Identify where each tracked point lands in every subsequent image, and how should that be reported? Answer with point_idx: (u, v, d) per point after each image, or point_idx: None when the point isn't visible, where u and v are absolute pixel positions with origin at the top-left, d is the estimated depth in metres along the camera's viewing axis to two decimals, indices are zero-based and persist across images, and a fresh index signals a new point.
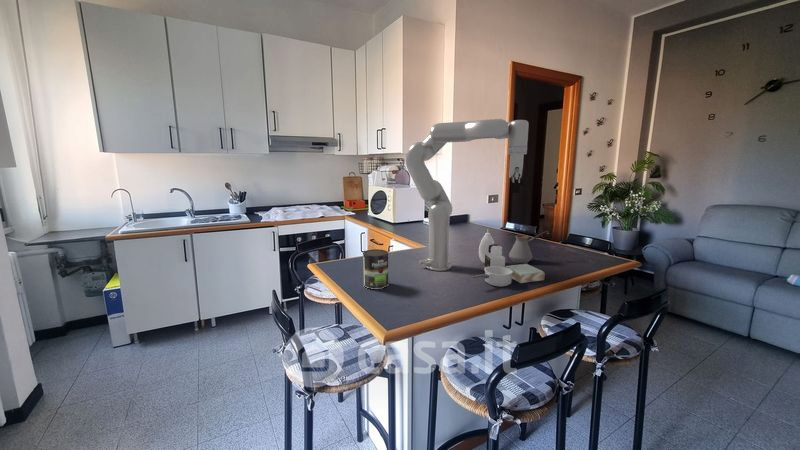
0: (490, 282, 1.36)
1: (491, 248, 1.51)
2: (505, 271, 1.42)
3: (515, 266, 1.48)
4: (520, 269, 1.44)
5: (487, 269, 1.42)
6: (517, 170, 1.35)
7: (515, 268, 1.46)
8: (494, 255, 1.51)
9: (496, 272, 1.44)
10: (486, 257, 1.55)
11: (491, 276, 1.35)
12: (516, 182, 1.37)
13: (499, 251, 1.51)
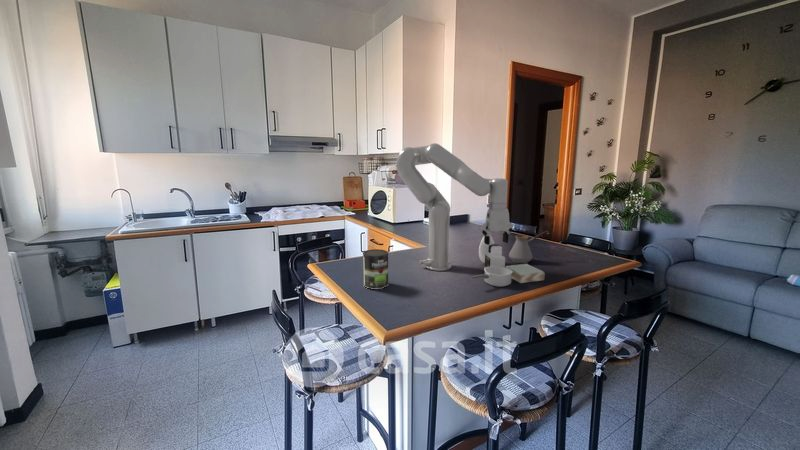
0: (490, 282, 1.36)
1: (491, 248, 1.51)
2: (505, 271, 1.42)
3: (515, 266, 1.48)
4: (520, 269, 1.44)
5: (487, 269, 1.42)
6: (510, 222, 1.53)
7: (515, 268, 1.46)
8: (494, 255, 1.51)
9: (496, 272, 1.44)
10: (486, 257, 1.55)
11: (490, 277, 1.35)
12: None
13: (499, 251, 1.51)
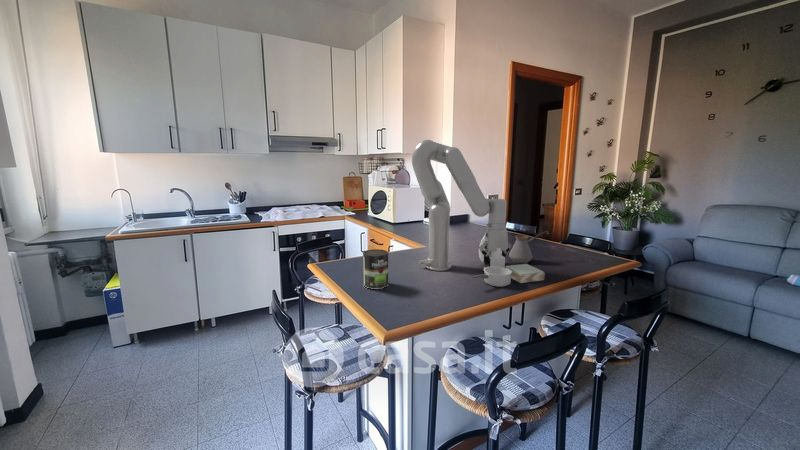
0: (489, 282, 1.36)
1: None
2: (505, 271, 1.42)
3: (515, 266, 1.48)
4: (520, 269, 1.44)
5: (486, 269, 1.42)
6: None
7: (515, 268, 1.46)
8: (494, 255, 1.51)
9: (495, 272, 1.44)
10: None
11: (490, 277, 1.35)
12: None
13: (499, 251, 1.51)
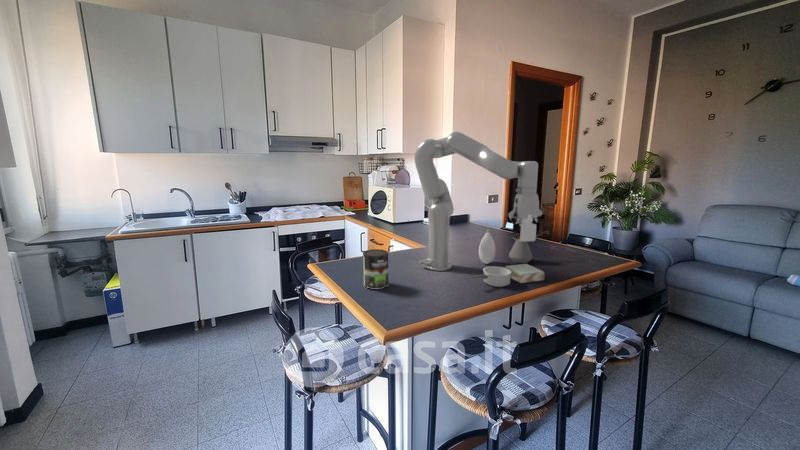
0: (489, 282, 1.35)
1: None
2: (504, 271, 1.41)
3: (515, 266, 1.48)
4: (520, 269, 1.44)
5: (486, 269, 1.42)
6: None
7: (515, 268, 1.46)
8: (524, 222, 1.40)
9: (495, 272, 1.44)
10: None
11: (489, 277, 1.35)
12: None
13: (530, 218, 1.39)
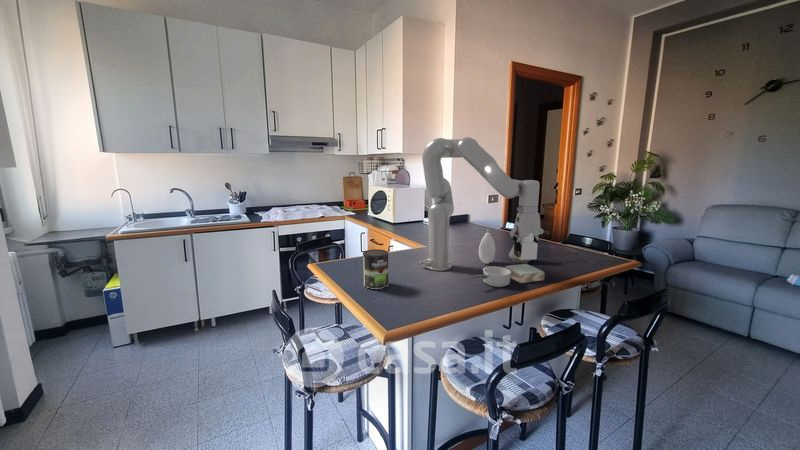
0: (488, 282, 1.35)
1: None
2: (504, 271, 1.41)
3: (515, 266, 1.48)
4: (520, 269, 1.44)
5: (485, 269, 1.42)
6: None
7: (515, 268, 1.46)
8: (526, 241, 1.40)
9: (495, 272, 1.44)
10: None
11: (489, 277, 1.35)
12: None
13: (531, 236, 1.40)
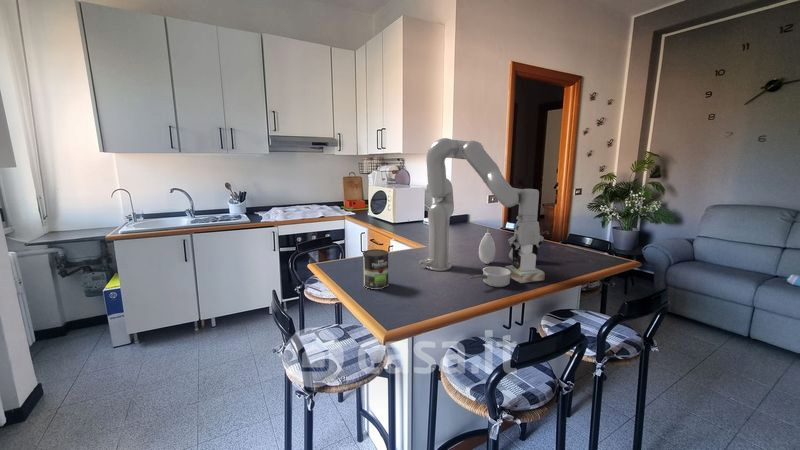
0: (488, 283, 1.35)
1: None
2: (504, 271, 1.41)
3: None
4: None
5: (485, 269, 1.42)
6: (539, 235, 1.45)
7: (515, 268, 1.46)
8: (524, 252, 1.41)
9: (494, 272, 1.43)
10: None
11: (489, 277, 1.35)
12: None
13: (530, 248, 1.41)
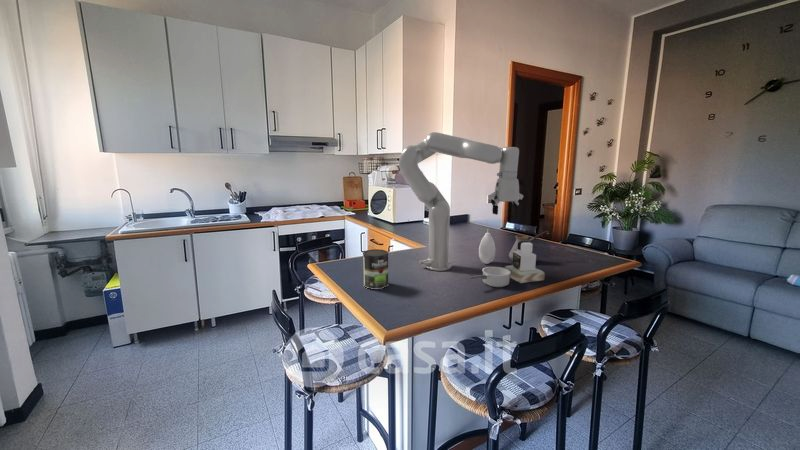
0: (488, 283, 1.35)
1: (521, 245, 1.42)
2: (503, 271, 1.41)
3: None
4: None
5: (485, 270, 1.42)
6: None
7: (515, 268, 1.46)
8: (524, 252, 1.41)
9: (494, 273, 1.43)
10: (515, 255, 1.45)
11: (488, 277, 1.35)
12: None
13: (530, 248, 1.41)
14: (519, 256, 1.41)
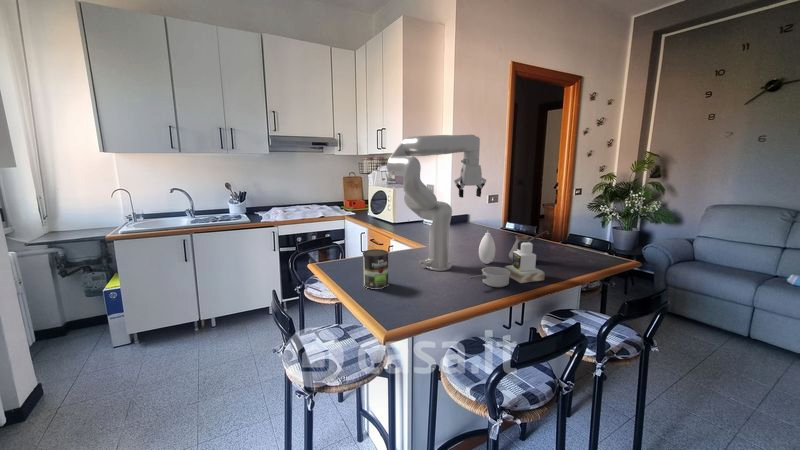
0: (487, 283, 1.35)
1: (521, 245, 1.42)
2: (503, 271, 1.41)
3: None
4: None
5: (484, 270, 1.42)
6: None
7: (515, 268, 1.46)
8: (524, 252, 1.41)
9: (494, 273, 1.43)
10: (515, 255, 1.45)
11: (488, 277, 1.34)
12: None
13: (530, 248, 1.41)
14: (519, 256, 1.41)
